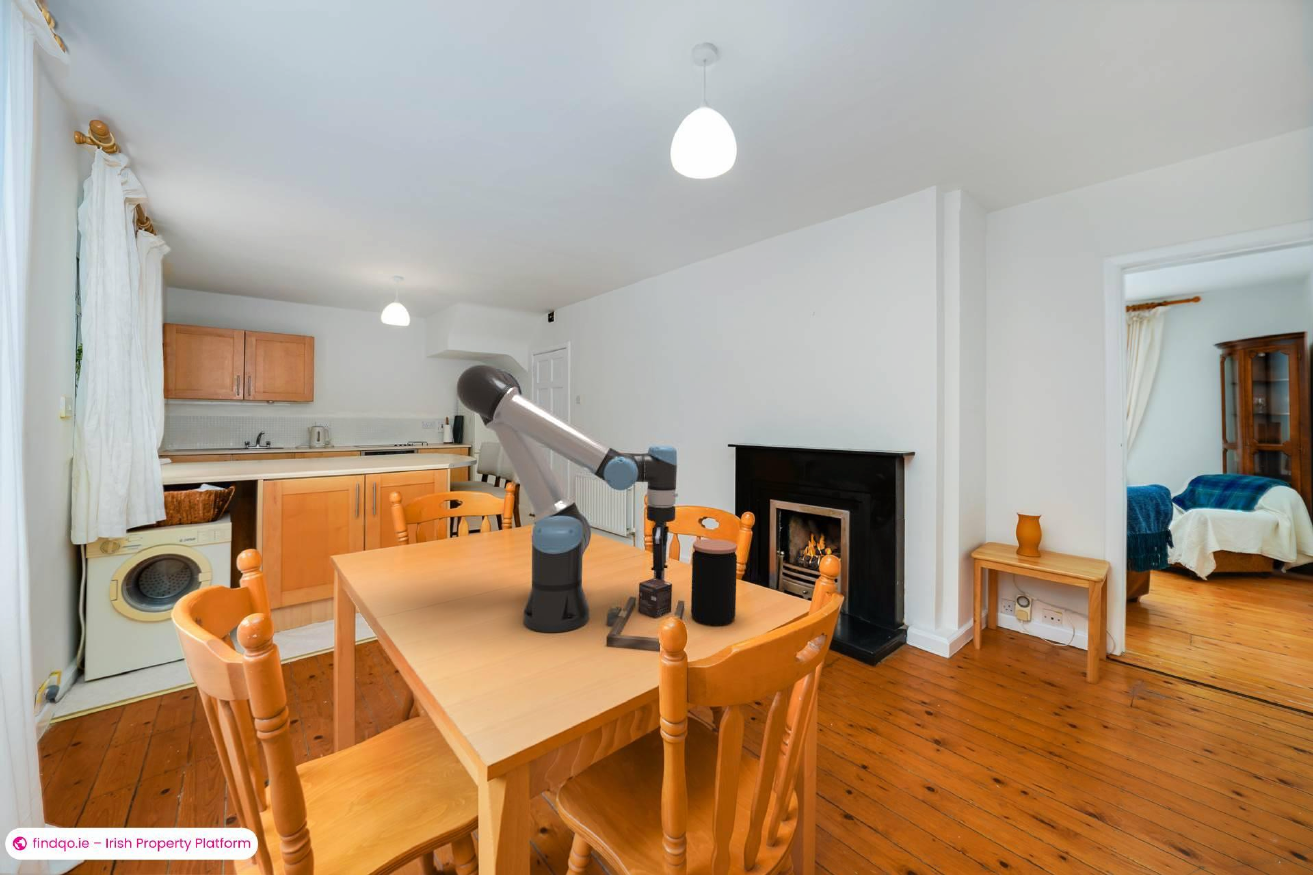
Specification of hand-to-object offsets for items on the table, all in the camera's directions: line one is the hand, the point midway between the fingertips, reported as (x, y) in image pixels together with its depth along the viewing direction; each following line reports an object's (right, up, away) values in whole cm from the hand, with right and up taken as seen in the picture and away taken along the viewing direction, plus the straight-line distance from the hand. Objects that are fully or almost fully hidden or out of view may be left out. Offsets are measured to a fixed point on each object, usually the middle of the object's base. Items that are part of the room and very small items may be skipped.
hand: (658, 593), depth 131 cm
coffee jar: (+13, -3, -11) cm, 17 cm away
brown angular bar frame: (-4, -2, -16) cm, 17 cm away
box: (-1, -2, -8) cm, 8 cm away
